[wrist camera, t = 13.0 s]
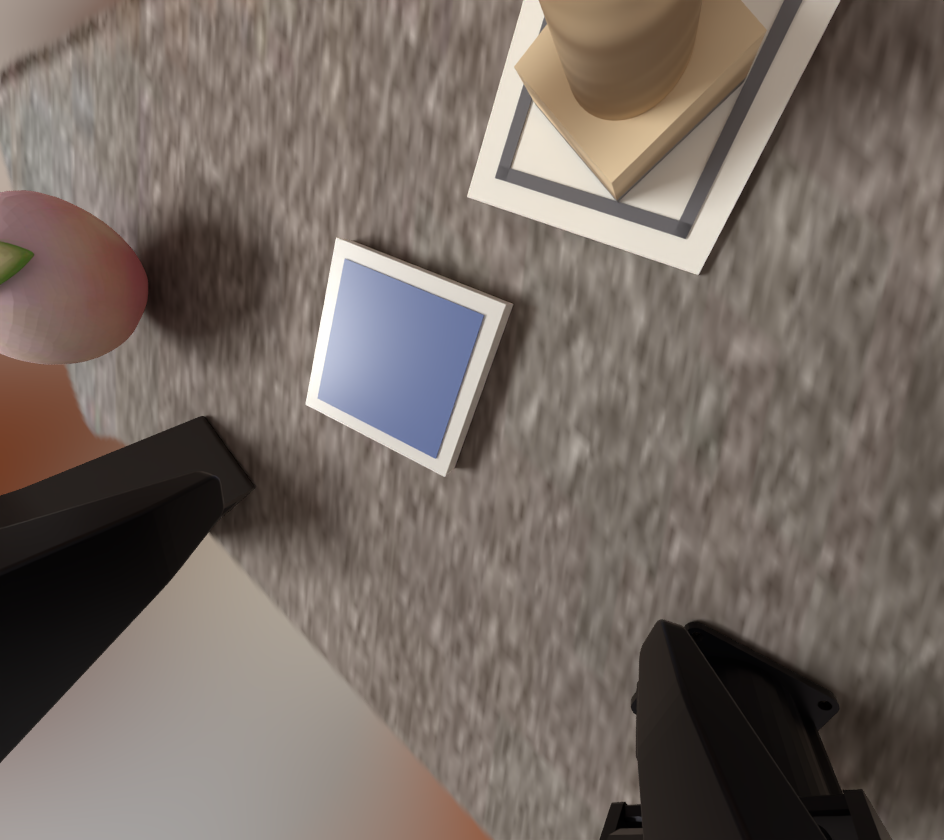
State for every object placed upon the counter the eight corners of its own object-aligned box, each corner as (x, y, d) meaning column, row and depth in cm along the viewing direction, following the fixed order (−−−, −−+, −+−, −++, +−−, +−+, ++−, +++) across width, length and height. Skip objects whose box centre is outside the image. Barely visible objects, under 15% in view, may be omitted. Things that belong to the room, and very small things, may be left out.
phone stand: (206, 414, 29) (-56, 486, 18) (257, 487, 29) (27, 601, 18) (153, 474, 33) (-86, 562, 22) (198, 537, 33) (-19, 656, 22)
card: (872, -65, 12) (879, -75, 12) (697, 275, 16) (698, 274, 16) (558, -108, 15) (556, -118, 14) (469, 197, 19) (466, 196, 18)
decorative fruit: (135, 368, 30) (-81, 399, 21) (82, 254, 29) (-169, 235, 20) (217, 326, 26) (-5, 342, 17) (161, 191, 25) (-110, 132, 16)
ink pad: (513, 303, 19) (505, 304, 18) (454, 468, 23) (444, 477, 21) (351, 240, 21) (334, 237, 20) (320, 399, 25) (304, 405, 23)
